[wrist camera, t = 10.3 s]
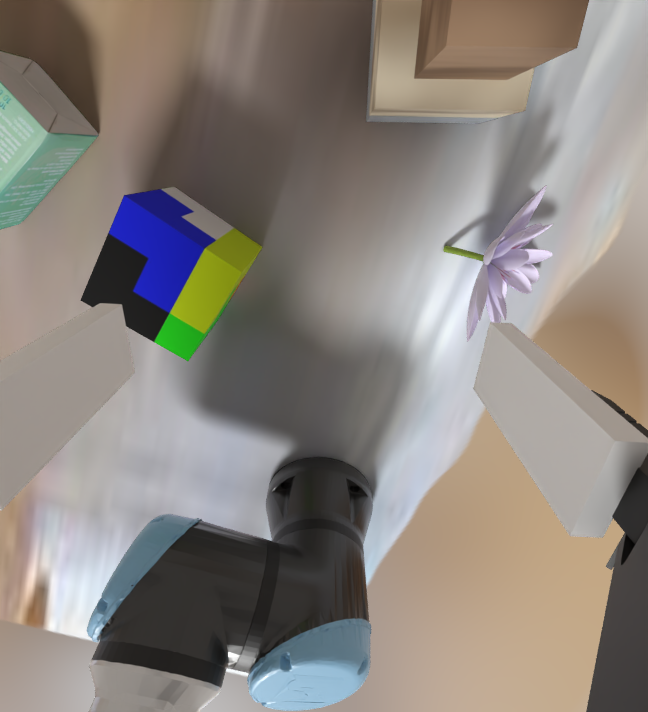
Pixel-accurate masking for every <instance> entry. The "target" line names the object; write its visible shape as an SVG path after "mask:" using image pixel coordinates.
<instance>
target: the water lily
mask: <svg viewBox="0 0 648 712" xmlns="http://www.w3.org/2000/svg"><path fill="white" fill-rule="evenodd" d="M546 186H547V185H546ZM546 186H544V187H543V188H542V189H541V190H540V191H538V192H537V193H536V194H535V195H534V196H533V197H532V198H531V199H530V200H529V201H528V202H527V203H526V204H525V205H524V206H523V207H522V208H521V209H520V210H519V211H518V212H517V213H516V215H515V216H514V217H513V218H512V219H511V221H510V222H509V223H508V225H507V226H506V227H505V229H504V230H503V232H502V233H501V235H500V236H499V237H498V238H497V239H495V240H494V241H493V242H492V243H491V244H490V245H489V246H488V248H487V249H486V251H485V253H484V255H481V254H478V253H474V252H470V251H467V250H463V249H459V248H455V247H451V246H445V247H444V252H448V253H452V254H457V255H461V256H465V257H469V258H473V259H476V260H480V261H483V263H484V264H483V266H482V268H481V270H480V272H479V274H478V277H477V279H476V282H475V285H474V288H473V291H472V295H471V299H470V304H469V309H468V317H467V342H468V341H469V339H470V338H471V336H472V334H473V333H474V331H475V328H476V326H477V323H478V320H479V321H480V319H481V316H482V312H483V309H484V306H485V302H486V306H487V311H488V314H489V317H490V320H491V322H494V323H500V321H501V315H502V317H503V318H504V320H506V313H507V312H506V303H505V297H506V293H507V284H508V285H509V286H511V287H512V288H514V289H516V290H517V291H519V292H522V293H526V294H528V293H531V292H532V287H531V284H532V283H534V282H536V281H537V280H538V279H539V273H538V270H537V269H536V268H535V266H533V265H532V263H537V262H540V261H543V260H545V259H547V258H549V257H551V256H552V255H553V254H552V253H551V252H550V251H547V250H542V249H520V248H522V247H524V246H525V245H527V244H528V243H529V242H530V241H531V240H532V239H533V238H534V237H536V236H538V235H539V234H541V233H543V232H544V231H545V230H547V229H548V228H549V227H551V226H552V225H553V224H550V225H545V226H542V224H535V225H532V226H529V227H526V226H527V224H528V223H529V221H530V219H531V217H532V215H533V213H534V211H535V209H536V208H537V206H538V205H539V203H540V201H541V199H542V197H543V195H544V193H545V190H546ZM525 227H526V228H525Z"/></svg>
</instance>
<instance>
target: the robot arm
mask: <svg viewBox="0 0 648 712" xmlns="http://www.w3.org/2000/svg"><path fill="white" fill-rule="evenodd" d="M134 373H135V369H134V364H133V359H132V354H131V349H130V344H129V339H128V334H127V328H126V323H125V318H124V313H123V308H122V304H106V303H100V304H98V305H96V306H94V307H93V308H91V309H89V310H87V311H86V312H84V313H82V314H80V315H79V316H77V317H75V318H74V319H72V320H70V321H68V322H67V323H65V324H63V325H61V326H60V327H58V328H56V329H54V330H53V331H51V332H49V333H47V334H46V335H44V336H42V337H41V338H39V339H37V340H35V341H34V342H32V343H30V344H28V345H27V346H25V347H23V348H21V349H20V350H18V351H16V352H14V353H13V354H11V355H9V356H7V357H6V358H4V359H2V360H1V361H0V510H3V509H4V507H5V506H6V505H7V504H8V503H9V502H10V501H11V500H12V499H13V498H14V497H15V496H16V495H17V494H18V493H19V492H20V491H21V490H22V489H23V488H24V487H25V486H26V485H27V484H28V483H29V482H30V481H31V480H32V479H33V478H34V476H35V475H36V474H37V473H38V472H39V471H40V470H41V469H42V468H43V467H44V466H45V465H46V464H47V463H48V462H49V461H50V460H51V459H52V458H53V457H54V456H55V455H56V454H57V453H58V452H59V451H60V450H61V449H62V448H63V447H64V445H65V444H66V443H67V442H68V441H69V440H70V439H71V438H72V437H73V436H74V435H75V434H76V433H77V432H78V431H79V430H80V429H81V428H82V427H83V426H84V425H85V424H86V423H87V422H88V421H89V420H90V419H91V418H92V417H93V416H94V414H95V413H96V412H97V411H98V410H99V409H100V408H101V407H102V406H103V405H104V404H105V403H106V402H107V401H108V400H109V399H110V398H111V397H112V396H113V395H114V394H115V393H116V392H117V391H118V390H119V389H120V388H121V387H122V386H123V385H124V383H125V382H126V381H127V380H128V379H129V378H130V377H131V376H132V375H133V374H134ZM473 389H474V391H475V392H476V394H477V395H478V397H479V398H480V400H481V401H482V403H483V404H484V406H485V407H486V409H487V410H488V412H489V413H490V415H491V416H492V418H493V420H494V421H495V423H496V424H497V426H498V427H499V429H500V430H501V431H502V433H503V435H504V436H505V438H506V439H507V441H508V442H509V444H510V445H511V447H512V449H513V450H514V451H515V453H516V454H517V456H518V458H519V459H520V461H521V462H522V464H523V465H524V467H525V468H526V470H527V471H528V473H529V474H530V476H531V477H532V479H533V481H534V482H535V483H536V485H537V487H538V488H539V490H540V491H541V493H542V494H543V496H544V497H545V499H546V500H547V502H548V503H549V505H550V506H551V508H552V509H553V511H554V513H555V514H556V516H557V517H558V519H559V520H560V522H561V523H562V525H563V526H564V528H565V529H566V531H567V532H568V534H569V535H570V536H579V537H603V536H604V534H605V532H606V530H607V529H608V527H609V525H610V523H611V521H612V519H613V518H614V520H615V521H616V522H617V523H618V524H619V525H620V527H621V528H622V529H623V531H624V532H625V533H624V535H623V537H622V539H621V541H620V542H619V544H618V546H617V547H616V549H615V551H614V553H613V554H612V556H611V558H610V560H609V562H608V563H607V565H606V567H607V568H609V569H612V568H613V567H614V570H613V574H612V580H611V585H610V590H609V595H608V601H607V606H606V611H605V617H604V622H603V627H602V632H601V638H600V643H599V648H598V654H597V658H596V664H595V669H594V674H593V679H592V685H591V690H590V695H589V700H588V706H587V711H586V712H648V430H647V429H646V428H644V427H643V426H642V425H641V424H637V423H636V420H635V419H633V418H632V417H631V416H630V415H628V414H625V411H624V410H622V409H621V408H620V407H619V406H617V405H616V404H615V403H614V402H612V401H611V400H610V399H608V398H606V397H604V396H602V395H600V394H598V393H596V392H594V391H593V390H590V389H589V388H588V387H586V386H585V385H584V384H583V383H582V382H580V381H579V380H578V379H577V378H576V377H575V376H573V375H572V374H571V373H570V372H569V371H567V370H566V369H565V368H564V367H563V366H561V365H560V364H559V363H558V362H557V361H555V360H554V359H553V358H552V357H551V356H550V355H548V354H547V353H546V352H545V351H544V350H543V349H541V348H540V347H539V346H538V345H537V344H535V343H534V342H533V341H532V340H531V339H529V338H528V337H527V336H526V335H525V334H524V333H522V332H521V331H520V330H519V329H518V328H516V327H515V326H514V325H513V324H512V323H494V322H490V325H489V329H488V333H487V337H486V341H485V344H484V348H483V352H482V356H481V360H480V364H479V368H478V372H477V376H476V380H475V384H474V388H473ZM372 508H373V504H372V495H371V489H370V486H369V484H368V482H367V480H366V479H365V477H364V476H363V475H362V474H361V473H360V472H359V471H358V470H356V469H355V468H353V467H352V466H350V465H348V464H346V463H344V462H341V461H338V460H334V459H329V458H307V459H302V460H298V461H295V462H293V463H291V464H289V465H287V466H285V467H284V468H282V469H281V470H280V471H278V472H277V473H276V475H275V476H274V477H273V479H272V480H271V482H270V485H269V489H268V494H267V499H266V511H267V516H268V521H269V527H270V532H271V537H272V541H269V540H266V539H263V538H259V537H256V536H252V535H249V534H245V533H241V532H238V531H234V530H231V529H227V528H223V527H220V526H216V525H213V524H210V523H207V522H203V521H202V520H201V519H199V518H197V519H191V518H186V517H181V516H177V515H173V514H164V515H160V516H158V517H156V518H155V519H153V520H152V521H151V522H150V523H148V524H147V526H146V527H145V528H144V529H143V530H142V531H141V532H140V534H139V535H138V536H137V538H136V539H135V540H134V542H133V543H132V545H131V546H130V548H129V549H128V550H127V552H126V554H125V555H124V557H123V558H122V560H121V561H120V563H119V565H118V566H117V568H116V570H115V571H114V573H113V575H112V576H111V578H110V580H109V582H108V583H107V585H106V587H105V589H104V591H103V593H102V598H101V599H100V600H99V602H98V604H97V606H96V608H95V609H94V611H93V613H92V616H91V618H90V620H89V624H88V627H87V632H88V636H90V637H91V638H92V640H93V641H94V642H98V641H99V640H100V642H99V645H98V647H97V649H96V651H95V654H94V655H93V658H92V660H91V662H90V664H89V668H90V671H91V675H92V678H93V682H94V685H95V698H94V700H93V703H92V705H91V707H90V710H89V712H200V711H201V709H203V708H204V707H205V706H206V705H207V704H208V703H209V702H210V701H211V700H213V699H214V698H215V697H216V696H217V695H218V694H219V693H220V691H221V687H222V683H223V679H224V675H225V671H226V669H227V668H229V669H234V670H238V671H243V672H247V673H249V675H248V679H247V681H248V686H249V693H250V695H251V697H252V698H253V700H255V701H256V702H257V703H258V702H261V703H262V705H263V706H265V707H268V708H271V709H277V710H286V711H298V710H309V709H315V708H320V707H324V706H328V705H331V704H334V703H336V702H339V701H341V700H343V699H345V698H347V697H349V696H350V695H352V694H353V693H354V692H356V691H357V690H358V689H359V688H360V687H361V685H362V684H363V683H364V682H365V680H366V678H367V676H368V673H369V669H370V634H371V624H370V623H369V614H368V601H367V589H366V576H365V564H364V552H363V543H364V540H365V536H366V533H367V529H368V526H369V522H370V519H371V515H372Z"/></svg>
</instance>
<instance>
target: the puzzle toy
mask: <svg viewBox="0 0 648 712" xmlns="http://www.w3.org/2000/svg"><path fill="white" fill-rule="evenodd" d="M261 249H262V247H261V246H260V245H259V244H257V243H256V242H254V241H253V240H251V239H250V238H248V237H247V236H245V235H244V234H242V233H241V232H240V231H238V230H237V229H235V228H234V227H232V226H231V225H229V224H228V223H226V222H225V221H224V220H222V219H221V218H219V217H218V216H216V215H215V214H213V213H212V212H210V211H209V210H207V209H206V208H205V207H203V206H202V205H200V204H199V203H197V202H196V201H194V200H193V199H191V198H190V197H189V196H187V195H186V194H184V193H183V192H181V191H180V190H178V189H177V188H175V187H170V188H164V189H158V190H153V191H147V192H141V193H135V194H129V195H124V197H123V200H122V202H121V204H120V207H119V209H118V212H117V214H116V216H115V219H114V221H113V224H112V226H111V228H110V231H109V233H108V236H107V238H106V240H105V243H104V245H103V248H102V250H101V252H100V255H99V257H98V260H97V262H96V264H95V267H94V269H93V272H92V274H91V276H90V279H89V281H88V284H87V286H86V288H85V291H84V293H83V296H82V298H81V301H83V302H84V303H86V304H88V305H90V306H91V307H94V306H96V305H98V304H100V303H106V304H122V308H123V313H124V318H125V323H126V326H127V327H128V328H130V329H132V330H134V331H136V332H137V333H139V334H141V335H143V336H144V337H146V338H148V339H150V340H151V341H153V342H155V343H157V344H158V345H160V346H162V347H164V348H165V349H167V350H169V351H171V352H173V353H174V354H176V355H178V356H180V357H181V358H183V359H185V360H187V361H189V359H190V358H191V356H192V355H193V354H194V352H195V351H196V350H197V348H198V347H199V345H200V344H201V343H202V341H203V340H204V339H205V337H206V336H207V334H208V333H209V332H210V330H211V329H212V327H213V326H214V325H215V323H216V322H217V321H218V319H219V317H220V316H221V314H222V313H223V311H224V309H225V308H226V306H227V304H228V303H229V301H230V299H231V298H232V296H233V295H234V293H235V291H236V290H237V288H238V286H239V285H240V283H241V282H242V280H243V278H244V277H245V275H246V273H247V272H248V270H249V268H250V267H251V265H252V264H253V262H254V260H255V259H256V257H257V255H258V254H259V252H260V251H261Z"/></svg>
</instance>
